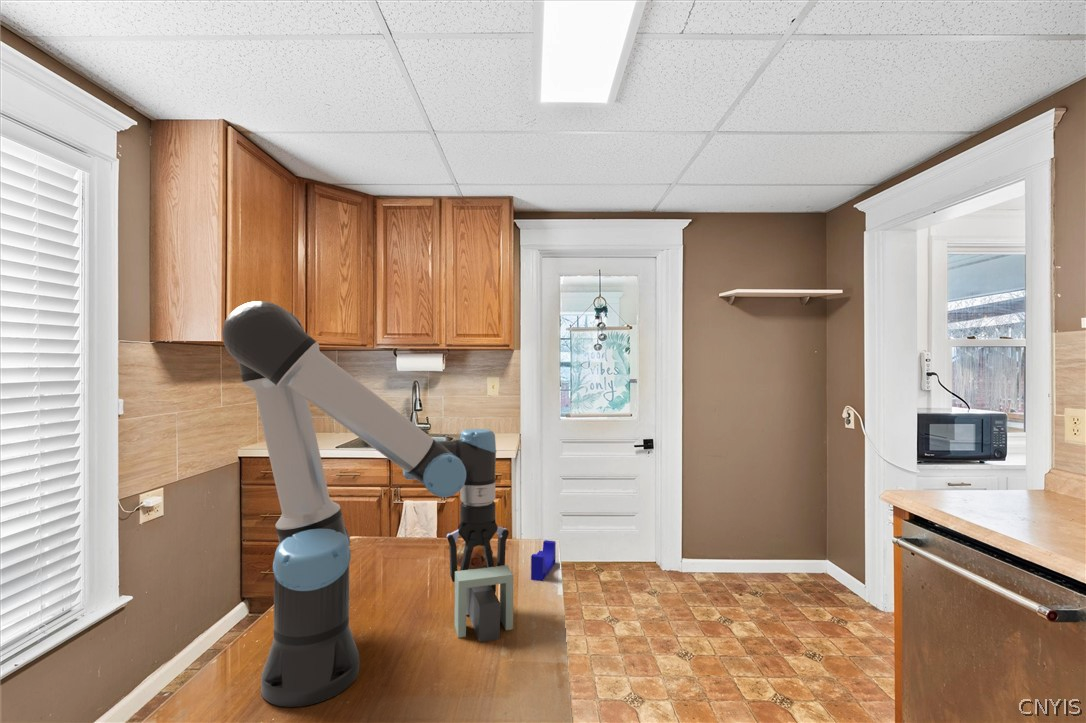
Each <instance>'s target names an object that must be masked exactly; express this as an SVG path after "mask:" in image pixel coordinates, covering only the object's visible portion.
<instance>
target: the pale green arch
mask: <svg viewBox="0 0 1086 723" xmlns="http://www.w3.org/2000/svg"><path fill="white" fill-rule="evenodd" d="M494 584H496V585H500V586H499V588H500V589H499V594H500V596H499V597H500V598H499V599H500V600H499V602H500V623H502V626H503V628H504V629H505V631H510V630H514V573H513V572H512V570H511V569H510V567H509V565H508V564H507V565H506V564H505V566H497V565H496V566H494V567H488V568H487V567H484V568H479V569H468V570H462V571H460V570H457V571H455V582H454V625H453V626H454V628H455V629H454V630H455V632H456V636H457V638H458V639H460V638H466V637H467V615H466V588H471V587H479V586H486V585H494Z"/></svg>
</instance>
